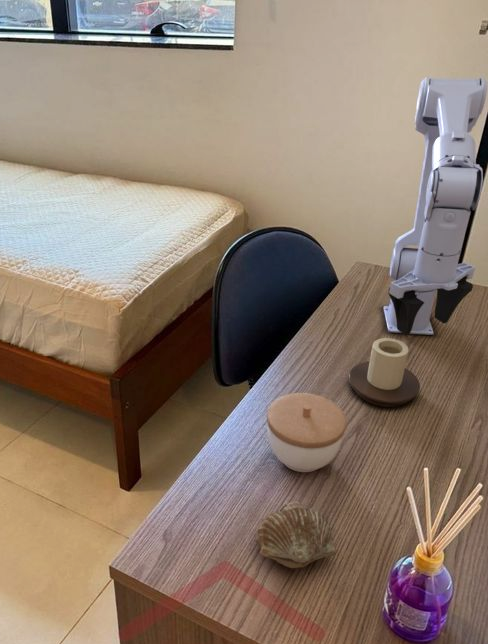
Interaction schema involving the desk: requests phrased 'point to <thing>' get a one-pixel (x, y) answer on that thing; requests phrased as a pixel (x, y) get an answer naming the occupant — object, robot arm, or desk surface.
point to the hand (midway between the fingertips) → (422, 325)
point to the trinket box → (305, 430)
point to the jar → (387, 363)
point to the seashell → (295, 536)
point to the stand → (382, 396)
